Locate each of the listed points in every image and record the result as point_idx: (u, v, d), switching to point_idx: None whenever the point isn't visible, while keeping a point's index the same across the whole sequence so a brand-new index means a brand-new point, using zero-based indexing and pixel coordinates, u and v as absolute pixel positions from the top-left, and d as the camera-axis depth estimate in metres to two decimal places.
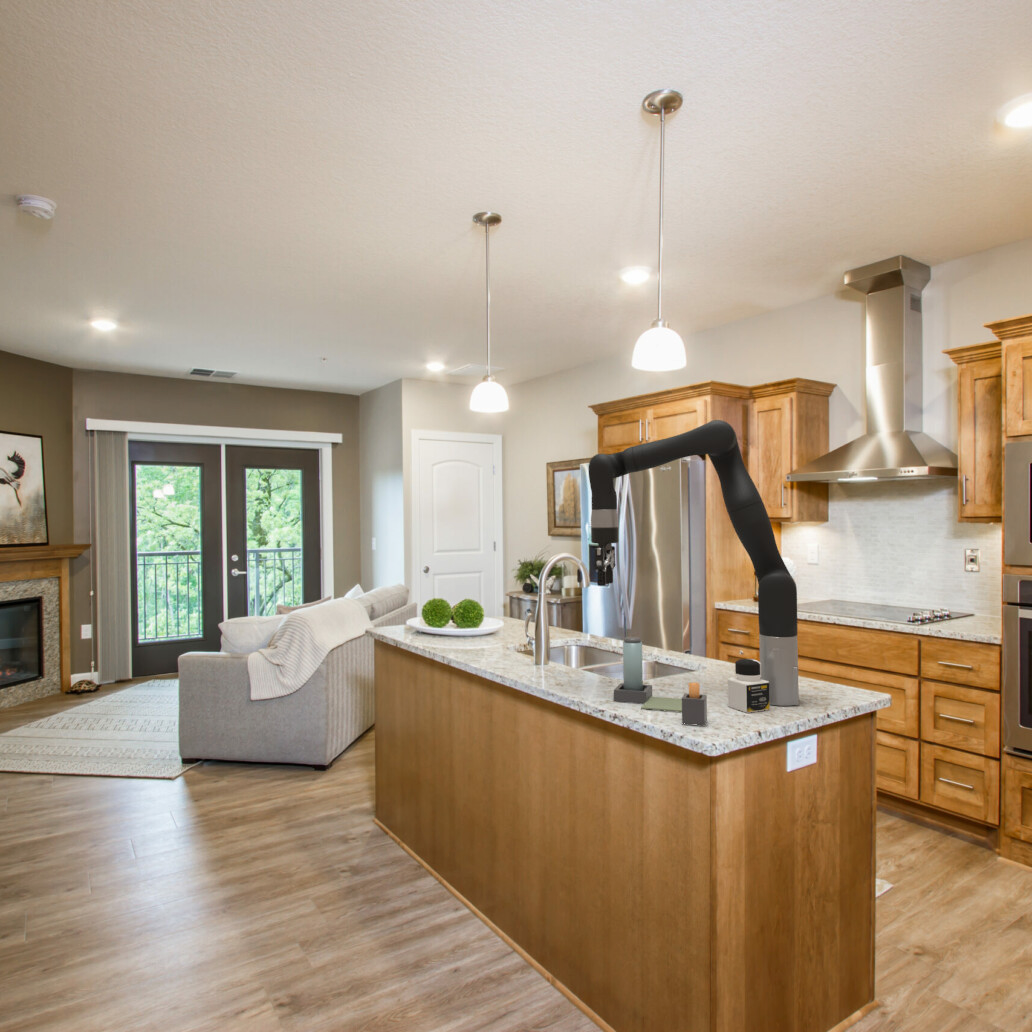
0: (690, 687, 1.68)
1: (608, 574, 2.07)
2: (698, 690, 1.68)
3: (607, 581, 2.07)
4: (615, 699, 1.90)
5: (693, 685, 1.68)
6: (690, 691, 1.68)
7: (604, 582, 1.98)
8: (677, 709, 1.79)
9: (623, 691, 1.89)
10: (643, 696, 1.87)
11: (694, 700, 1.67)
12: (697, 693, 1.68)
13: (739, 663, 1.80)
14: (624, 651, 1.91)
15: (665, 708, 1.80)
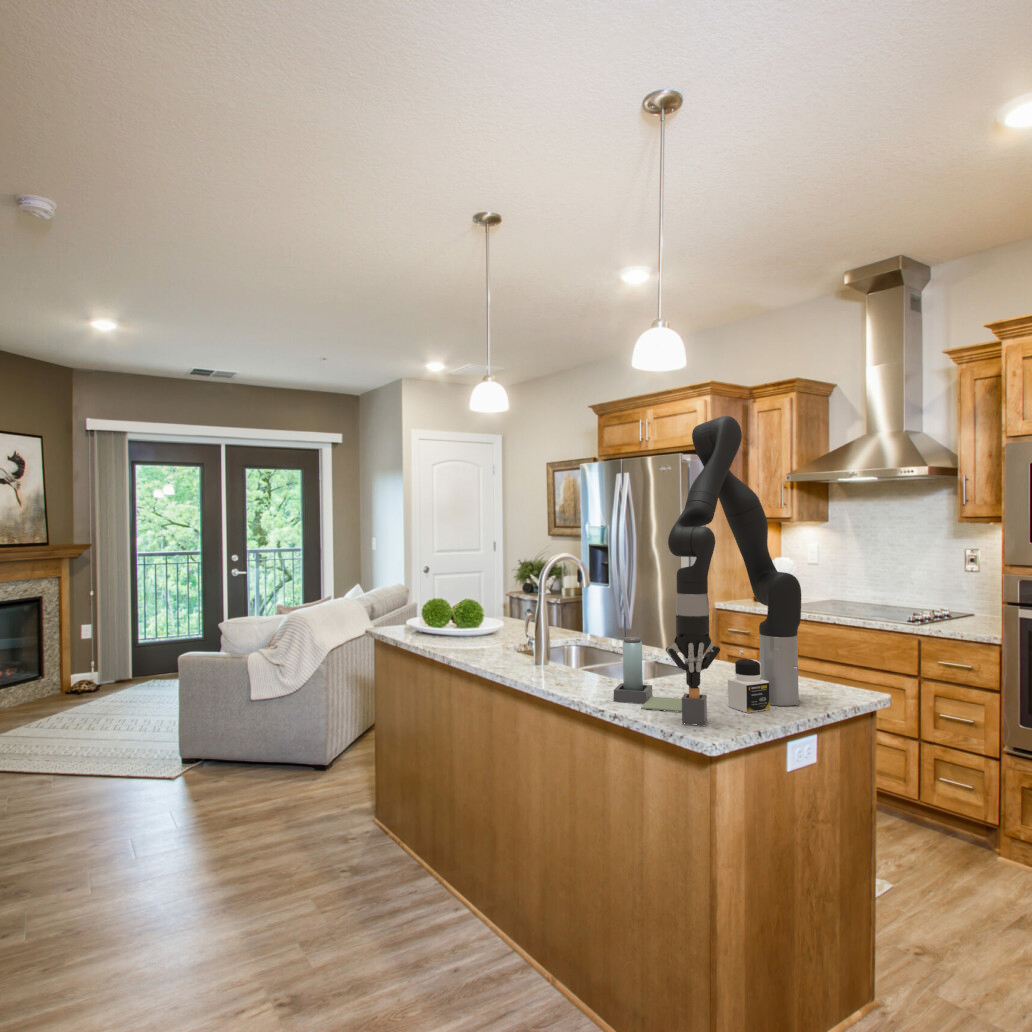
0: (690, 691, 1.68)
1: None
2: (698, 694, 1.68)
3: None
4: (615, 699, 1.90)
5: (693, 689, 1.68)
6: (690, 695, 1.68)
7: None
8: (677, 709, 1.79)
9: (623, 691, 1.89)
10: (643, 696, 1.87)
11: (694, 700, 1.67)
12: (697, 697, 1.68)
13: (739, 663, 1.80)
14: (624, 651, 1.92)
15: (665, 708, 1.80)
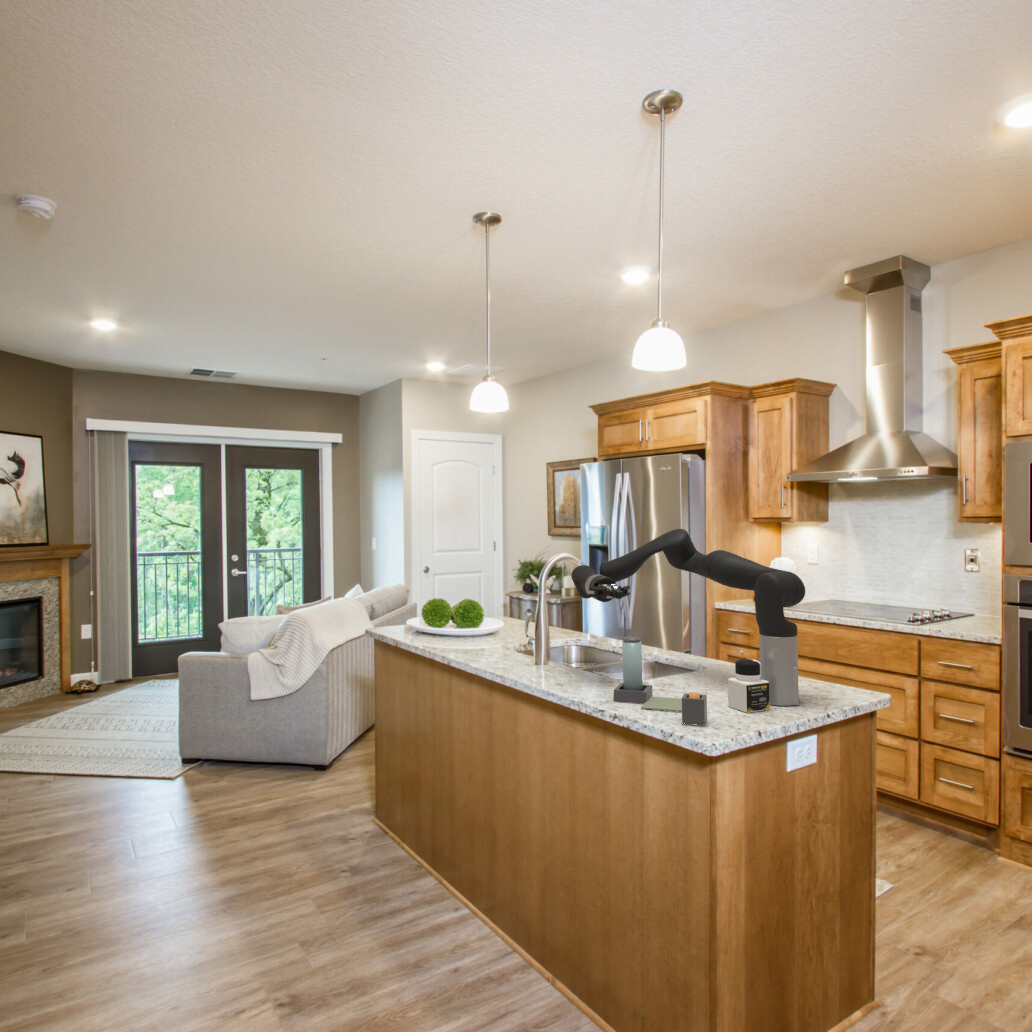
0: (690, 697, 1.68)
1: None
2: None
3: None
4: (615, 699, 1.90)
5: (693, 695, 1.68)
6: None
7: None
8: (677, 709, 1.79)
9: (623, 691, 1.89)
10: (643, 696, 1.87)
11: (694, 700, 1.67)
12: None
13: (739, 663, 1.80)
14: (623, 651, 1.92)
15: (665, 708, 1.80)
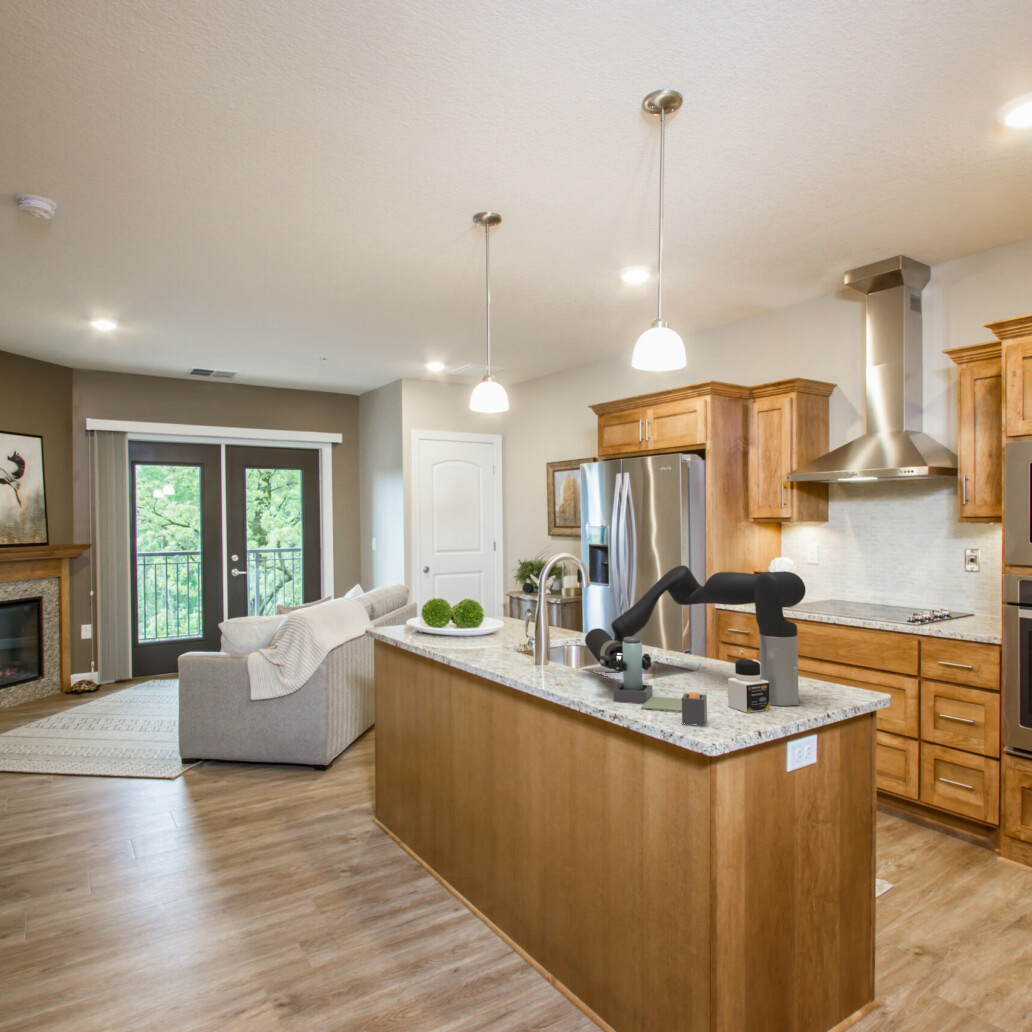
0: (690, 697, 1.68)
1: None
2: None
3: None
4: (615, 699, 1.90)
5: (693, 695, 1.68)
6: None
7: None
8: (677, 709, 1.79)
9: (623, 691, 1.89)
10: (643, 696, 1.87)
11: (694, 700, 1.67)
12: None
13: (739, 663, 1.80)
14: (624, 651, 1.91)
15: (665, 708, 1.80)
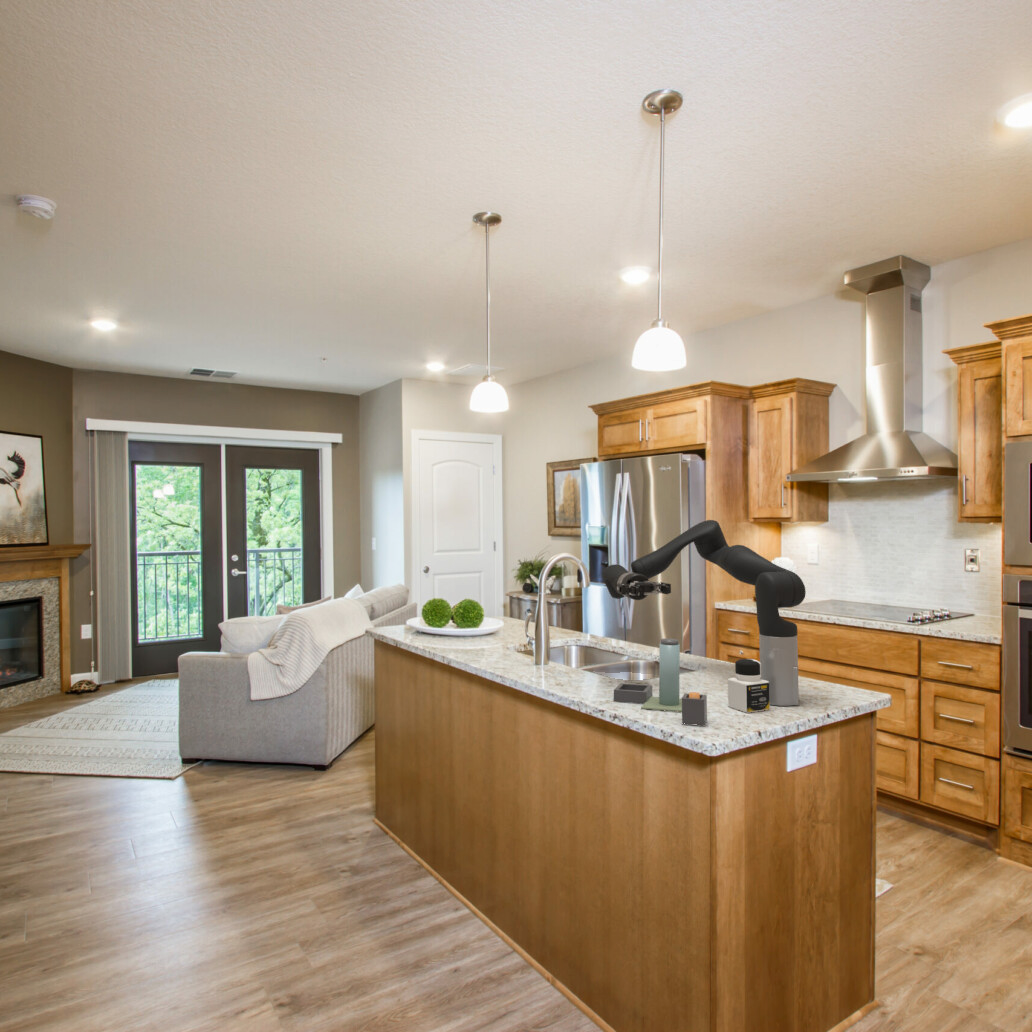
0: (690, 697, 1.68)
1: None
2: None
3: None
4: (615, 699, 1.90)
5: (693, 695, 1.68)
6: None
7: None
8: (677, 709, 1.79)
9: (623, 691, 1.89)
10: (643, 696, 1.87)
11: (694, 700, 1.67)
12: None
13: (739, 663, 1.80)
14: (661, 653, 1.84)
15: (665, 708, 1.80)
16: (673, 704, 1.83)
